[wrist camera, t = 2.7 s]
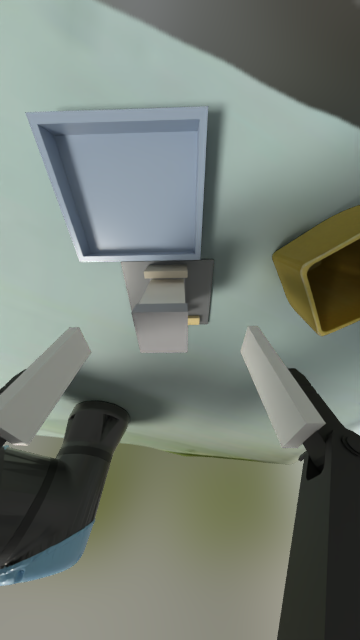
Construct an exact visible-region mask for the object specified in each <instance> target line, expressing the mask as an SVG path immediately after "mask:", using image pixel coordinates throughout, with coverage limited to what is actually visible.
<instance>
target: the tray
mask: <svg viewBox="0 0 360 640" xmlns="http://www.w3.org/2000/svg"><path fill="white" fill-rule="evenodd" d="M25 113H26V116H27V118H28V121H29V124H30V127H31V129H32V132H33V135H34V138H35V140H36V143H37V146H38V149H39V151H40V154H41V157H42V159H43V162H44V165H45V168H46V170H47V173H48V176H49V179H50V181H51V184H52V187H53V190H54V192H55V195H56V198H57V201H58V203H59V206H60V209H61V211H62V214H63V217H64V220H65V222H66V225H67V228H68V231H69V233H70V236H71V239H72V242H73V244H74V247H75V250H76V253H77V255H78V258H79V261H80V262H114V261H163V260H200V256H201V236H202V217H203V197H204V178H205V158H206V138H207V119H208V106H203V107H173V108H142V109H112V110H81V111H51V112H25Z"/></svg>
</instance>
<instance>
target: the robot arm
mask: <svg viewBox="0 0 360 640" xmlns="http://www.w3.org/2000/svg"><path fill="white" fill-rule="evenodd" d="M240 352H241V354H242V356H243V359H244V361H245V363H246V366H247V368H248V370H249V373H250V375H251V377H252V380H253V382H254V384H255V386H256V389H257V391H258V393H259V396H260V398H261V400H262V403H263V405H264V407H265V410H266V412H267V414H268V416H269V419H270V421H271V423H272V426H273V428H274V430H275V433H276V435H277V437H278V439H279V442H280V444H281V446H282V448H298V447H299V446H300V445H302V444H303V445H304V447H305V448H306V450H307V451H306V452H304V453H303V454H302V455H300V457H299V459H298V460H300V461H302V460H303V459H304V464H303V470H302V477H301V483H300V490H299V497H298V503H297V511H296V518H295V523H294V530H293V537H292V543H291V550H290V557H289V564H288V570H287V577H286V584H285V590H284V597H283V604H282V610H281V617H280V623H279V630H278V637H277V640H360V436H359V435H358V434H356V433H355V432H353V431H351V430H348V429H346V428H345V427H344V426H343V425H342V424H341V423H340V421H339V420H338V419H337V418H336V416H335V415H334V414H333V412H332V411H331V410H330V409H329V407H328V406H327V405H326V403H325V402H324V401H323V399H322V398H321V397H320V396H319V394H317V392H316V390H315V389H314V388H313V386H311V384H310V383H309V381H308V380H307V379H306V377H305V376H304V375H303V374H301V373H300V372H299V371H298V370H296V369H295V368H291V369H287V367H286V366H285V364H284V363H283V361H282V360H281V358H280V357H279V356H278V354H277V353H276V351H275V350H274V348H273V347H272V346H271V344H270V343H269V341H268V340H267V338H266V337H265V336H264V334H263V333H262V331H261V330H260V328H259V327H258V326H248V327H247V330H246V334H245V337H244V341H243V344H242V348H241V351H240ZM90 354H91V350H90V348H89V346H88V344H87V342H86V340H85V338H84V336H83V334H82V332H81V330H80V328H79V327H70V328H69V329H68V330H67V331H66V332H64V333H63V334H62V335H61V336H60V337H59V338H58V339H57V340H56V341H55V342H54V343H53V344H52V345H51V346H50V347H49V348H48V349H47V350H46V351H45V352H44V353H43V354H42V355H41V356H40V357H39V358H38V359H37V360H36V361H35V362H34V363H33V364H31V365H30V366H29V367H28V368H27V369H25V370H23V371H22V372H20V373H19V374H17V375H16V376H14V377H13V378H12V379H11V380H10V381H9V382H8V383H7V384H6V386H4V387H2V388H1V389H0V586H3V585H11V584H15V583H19V582H27V581H31V580H35V579H40V578H43V577H47V576H50V575H53V574H56V573H59V572H62V571H64V570H67V569H69V568H70V567H72V566H73V565H74V564H76V563H77V561H78V560H79V559H80V558H81V556H82V554H83V552H84V550H85V547H86V544H87V541H88V538H89V535H90V532H91V529H92V526H93V524H94V522H95V516H96V512H97V509H98V505H99V502H100V498H101V494H102V491H103V487H104V484H105V480H106V477H107V473H108V470H109V466H110V462H111V459H112V456H113V453H114V451H115V449H116V447H117V445H118V444H119V442H120V440H121V438H122V436H123V435H124V433H125V431H126V429H127V427H128V423H129V419H130V418H129V415H128V413H127V412H126V411H125V410H124V409H122V408H120V407H118V406H116V405H113V404H110V403H106V402H100V401H88V402H83V403H80V404H78V405H76V406H75V407H74V409H73V411H72V413H71V414H70V416H69V419H68V424H67V428H66V432H65V436H64V441H63V444H62V447H61V449H60V451H59V453H58V455H57V457H56V458H55V459H54V458H50V457H46V456H42V455H38V454H34V453H30V452H26V451H22V450H17V449H13V448H9V446H7V445H6V446H3V444H4V443H5V442H6V441H8V442H10V443H11V444H13V445H29V443H30V442H31V441H32V439H33V438H34V436H35V435H36V433H37V432H38V430H39V429H40V427H41V426H42V424H43V423H44V421H45V420H46V418H47V417H48V415H49V414H50V413H51V411H52V410H53V408H54V407H55V405H56V404H57V402H58V401H59V399H60V398H61V396H62V395H63V393H64V392H65V390H66V389H67V387H68V386H69V385H70V383H71V382H72V380H73V379H74V377H75V376H76V374H77V373H78V371H79V370H80V368H81V367H82V365H83V364H84V362H85V361H86V359H87V358H88V357H89V355H90Z"/></svg>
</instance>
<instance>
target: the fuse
mask: <svg viewBox="0 0 360 640" xmlns="http://www.w3.org/2000/svg"><path fill="white" fill-rule="evenodd" d="M132 317H133V321H134V326H135V330H136V335H137V339H138V343H139V348H140V352H141V353H177V352H187V347H188V307H187V303H185V278H150V283H149V285H148V287H147V289H146V291H145V293H144V295H143V297H142V299H141V301H140V303H139V304H136V305H135V307H134V309H133V311H132Z"/></svg>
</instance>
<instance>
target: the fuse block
mask: <svg viewBox="0 0 360 640" xmlns="http://www.w3.org/2000/svg"><path fill="white" fill-rule="evenodd" d="M121 265H122V270H123V274H124V279H125V283H126V287H127V292H128V296H129V301H130V305H131V310H132V311H133V309H134V307H135V305H136V304H139V303H140V301H141V299H142V297H143V295H144V293H145V291H146V289H147V287H148V285H149V283H150V278H185V303H187V307H188V325H199V324H208V316H209V306H210V296H211V286H212V275H213V265H214V260H213V259H204V260H163V261H122V262H121Z"/></svg>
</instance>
